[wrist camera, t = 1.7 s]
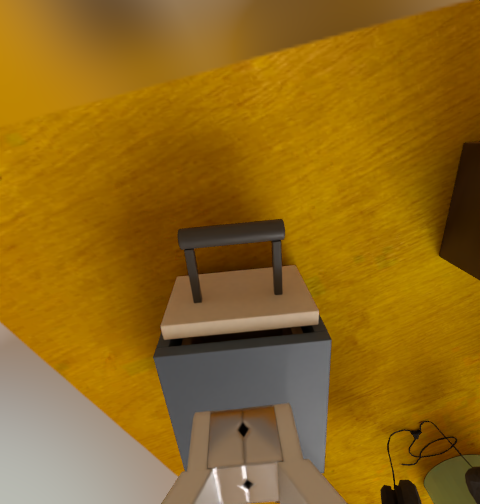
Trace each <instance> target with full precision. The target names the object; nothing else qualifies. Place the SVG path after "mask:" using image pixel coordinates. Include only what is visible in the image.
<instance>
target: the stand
mask: <svg viewBox="0 0 480 504" xmlns="http://www.w3.org/2000/svg"><path fill="white" fill-rule="evenodd" d="M439 256H440V257H441V258H443V259H445V260H446V261H448V262H450V263H451V264H453V265H455V266H456V267H458V268H460V269H461V270H463V271H465V272H467V273H468V274H470V275H472V276H473V277H475V278H477V279H478V280H480V141H475V142H465V143H464V145H463V150H462V154H461V159H460V163H459V168H458V172H457V177H456V182H455V186H454V191H453V195H452V200H451V204H450V209H449V213H448V218H447V223H446V227H445V232H444V236H443V241H442V245H441V250H440V255H439Z"/></svg>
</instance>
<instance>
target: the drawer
mask: <svg viewBox="0 0 480 504" xmlns="http://www.w3.org/2000/svg"><path fill="white" fill-rule="evenodd" d="M284 238H285V227H284V222H283V220H282V219H276V220H266V221H256V222H245V223H235V224H225V225H214V226H204V227H194V228H184V229H179V230H178V243H179V247H180V249H182V250H183V249H185V250H184V252H185V258H186V263H187V269H188V274H189V275H188V276H178V277H177V278H176V281H175V284H174V287H173V290H172V293H171V296H170V299H169V302H168V305H167V308H166V311H165V314H164V317H163V320H162V323H161V326H160V327H161V331H162V335H163V339H164V340H168V339H178V338H183V340H182V345H192V344H202V343H212V342H222V341H232V340H242V339H252V338H262V337H272V336H282V335H292V334H302V333H303V331H302V329H301V326H308V325H318V320H319V310H318V308H317V306H316V304H315V302H314V300H313V298H312V296H311V294H310V293H309V291H308V289H307V287H306V285H305V283H304V281H303V279H302V277H301V275H300V273H299V271H298V269H297V267H296V265H290V266H282V254H281V240H283V239H284ZM265 241H271V243H272V265H273V267H270V268H260V269H250V270H239V271H229V272H219V273H209V274H199V275H198V269H197V263H196V257H195V251H194V248H203V247H213V246H224V245H234V244H244V243H254V242H265ZM182 345H181V346H182Z"/></svg>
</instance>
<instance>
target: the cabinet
mask: <svg viewBox="0 0 480 504" xmlns="http://www.w3.org/2000/svg"><path fill="white" fill-rule="evenodd" d="M301 329H302V331H303V333H302V334H292V335H282V336H272V337H262V338H252V339H242V340H232V341H222V342H212V343H202V344H192V345H182V340H183V338H178V339H168V340H164V339H163V335H162V332H161V335H160V338H159V342H158V345H157V348H156V351H155V354H154V357H153V358H154V361H155V365H156V369H157V372H158V376H159V379H160V383H161V387H162V390H163V394H164V397H165V401H166V405H167V408H168V412H169V415H170V419H171V423H172V426H173V430H174V433H175V437H176V441H177V444H178V448H179V451H180V455H181V459H182V462H183V466H184V469H185V471H187V467H188V459H189V450H190V441H191V433H192V424H193V417H194V414H195V412H206V411H219V410H231V409H242V408H247V407H255V406H264V405H272V404H273V405H277V404H285V403H289V404H290V406H291V408H292V413H293V417H294V421H295V425H296V430H297V434H298V438H299V442H300V447H301V451H302V455H303V459H309V460H310V461H311V462H312V464H313V465H314V466H315V467H316V468H317V469H318V470H319V472H320V473H324V464H325V446H326V428H327V411H328V393H329V375H330V357H331V338H330V336H329V334H328V332H327V329H326V327H325V325H324V323H323V321H322V319H321V317H320V315H319V320H318V325H308V326H301ZM181 345H182V346H181Z"/></svg>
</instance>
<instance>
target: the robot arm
mask: <svg viewBox="0 0 480 504" xmlns="http://www.w3.org/2000/svg"><path fill="white" fill-rule="evenodd" d="M274 501H280V504H347V503H346V502H345V500H344V499H343V498H342V497H341V496H340V495H339V493H338V492H337V491H336V490H335V489H334V488H333V487H332V485H331V484H330V483H329V482H328V481H327V480H326V478H325V477H324V476H323V475H322V474H321V473H320V472H319V470H318V469H317V468H316V467H315V466H314V465H313V464H312V462H311V461H310V460H309V459H303V455H302V451H301V447H300V442H299V438H298V434H297V430H296V425H295V421H294V417H293V413H292V408H291V406H290V404H289V403H285V404H277V405H273V404H272V405H264V406H255V407H247V408H242V409H231V410H219V411H206V412H195V414H194V417H193V424H192V433H191V441H190V450H189V459H188V467H187V471H185V472H182V473H181V474H180V476H179V477H178V479H177V480H176V482H175V484H174V485H173V486H172V488H171V489H170V491H169V493H168V494H167V496H166V497H165V499H164V500H163V502H162V503H161V504H248V503H259V502H274Z"/></svg>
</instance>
